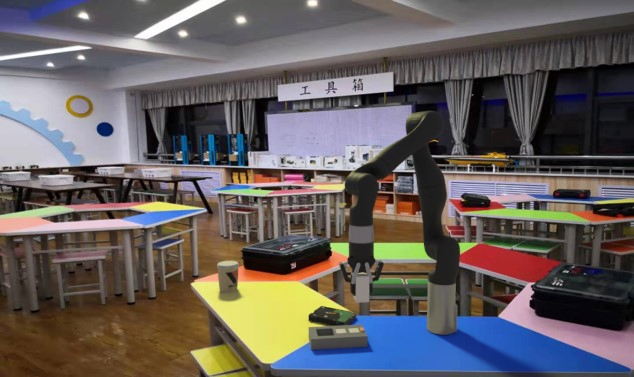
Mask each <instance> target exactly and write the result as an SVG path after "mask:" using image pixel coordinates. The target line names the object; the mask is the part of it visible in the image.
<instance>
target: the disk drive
mask: <svg viewBox="0 0 634 377" xmlns="http://www.w3.org/2000/svg"><path fill="white" fill-rule="evenodd" d="M356 319H357V314H356V312H353V311H349V310H345V309H340V308H334V307H329V306H324V305H320V306H319V307H318V308H316V309H314V311H313V312H311V313H309V314H308V321H309V320H311V322H313V321H314V322H315V323H318V324H321V325H327V326H341V325H351V323H352V322H354V320H356Z"/></svg>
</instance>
